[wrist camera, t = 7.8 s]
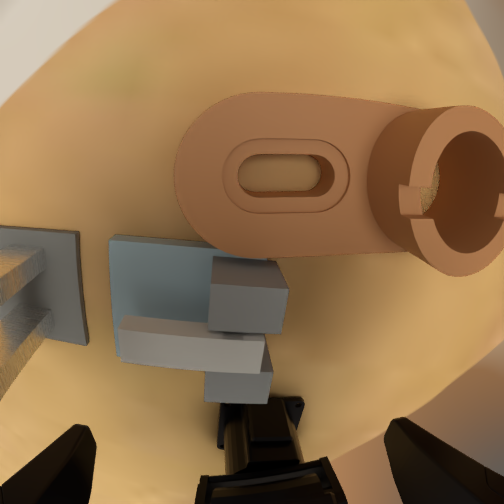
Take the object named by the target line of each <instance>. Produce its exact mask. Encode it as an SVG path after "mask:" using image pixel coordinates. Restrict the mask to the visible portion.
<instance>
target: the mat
mask: <svg viewBox="0 0 504 504" xmlns="http://www.w3.org/2000/svg"><path fill="white" fill-rule="evenodd" d="M10 244H14V245H23V246H32V247H41V248H44V253H45V264H46V269H45V270H44V271H42V272H41V273H40V274H38V275H37V276H36V277H35V278H34V279H32V280H31V281H30V282H29V283H27V284H26V285H25V286H24V287H23V288H21V289H20V290H19V291H18V292H17V293H15V294H14V295H13V296H12V297H11V298H10V299H8V300H7V301H6V302H5V303H4V304H3V305H2V306H0V321H1V320H2V319H3V318H4V317H5V316H6V315H7V314H8V313H9V312H10V311H11V310H12V309H13V308H14V307H15V306H17V305H18V304H19V303H20V304H25V305H30V306H35V307H41V308H46V309H51V310H52V316H53V321H54V328H53V330H52V331H51V332H50V333H49V335H48V336H47V337H46V338H49V339H54V340H58V341H63V342H68V343H74V344H79V345H84V346H87V344H88V343H89V336H88V330H87V323H86V315H85V307H84V298H83V289H82V277H81V264H80V246H79V232H78V231H65V230H53V229H40V228H27V227H13V226H0V250H1V249H3V248H5V247H6V246H8V245H10Z"/></svg>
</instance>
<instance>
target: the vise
mask: <svg viewBox="0 0 504 504" xmlns="http://www.w3.org/2000/svg"><path fill="white" fill-rule="evenodd" d="M109 269H110V289H111V303H112V315H113V326H114V336H115V344H116V353H117V356H119V357H121V362H125V363H132V364H140V365H147V366H156V367H165V368H174V369H185V370H197V371H205V389H204V402H219V403H245V404H267V401H268V396H269V391H270V387H271V382H272V377H273V368H272V364H271V360H270V355H269V351H268V347H267V343H266V338H265V334H281V332H282V326H283V321H284V316H285V310H286V305H287V299H288V294H289V288H288V285H287V283H286V281H285V279H284V277H283V275H282V273H281V271H280V269H279V267H278V265H277V262H276V261H270V260H267V258H244V257H239V256H235V255H232V254H229V253H226V252H224V251H222V250H219V249H217V248H216V247H214V246H212V245H211V244H209V243H208V242H200V241H189V240H177V239H165V238H153V237H140V236H128V235H116V234H115V235H114V236H113V237H112V238H110V239H109ZM263 333H264V334H263Z"/></svg>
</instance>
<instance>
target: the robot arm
mask: <svg viewBox="0 0 504 504" xmlns="http://www.w3.org/2000/svg"><path fill="white" fill-rule="evenodd" d="M297 403H299V404H297ZM304 405H305V403H304V400H303V399H302V398H268V401H267V404H245V403H229V404H226V403H220V412H219V424H218V436H217V448H219V449H222V450H225V471H226V475H218V476H209V475H202V476H201V477H200V483H199V484H198V487H197V492H196V498H195V504H348V502H347V499H346V496H345V494H344V491H343V489H342V487H341V485H340V483H339V481H338V479H337V477H336V474H335V472H334V470H333V468H332V466H331V464H330V462H329V460H328V457H327V456H326V457H322V458H319V460H315V461H310V462H306V463H305V462H304V459H303V455H302V451H301V447H300V444H299V440H298V436H297V432H296V430H297V427H298V424H299V421H300V418H301V415H302V412H303V409H304ZM384 443H385V447H386V451H387V455H388V458H389V462H390V466H391V470H392V474H393V478H394V481H395V484H396V486H397V489H398V492H399V494H400V496H401V499H402V502H403V504H504V476H502V475H500V474H498V473H496V472H494V471H492V470H491V469H489V468H487V467H484V466H483V465H482V464H480V463H478V462H477V461H475V460H474V459H472V458H470V457H468V456H467V455H465V454H463V453H462V452H460V451H458V450H457V449H455V448H453V447H452V446H450V445H448V444H447V443H445V442H444V441H442V440H441V439H439V438H437V437H436V436H434V435H432V434H430V433H429V432H428V431H426V430H425V429H423V428H421V427H420V426H418V425H417V424H415V423H413V422H412V421H410V420H409V419H407V418H406V417H400V418H395V419H393V420H392V421H391V422H390V425H389V427H388V429H387V431H386V433H385V435H384ZM96 449H97V446H96V442H95V439H94V437H93V435H92V433H91V430H90V428H89V427H88V426H86V425H81V424H75V425H73V426H72V427H71V428H69V429H68V430H67V431H66V432H65V433H64V434H62V435H61V436H60V437H59V438H58V439H56V440H55V441H54V442H53V443H52V444H50V445H49V446H48V447H47V448H46V449H44V450H43V451H42V452H41V453H40V454H38V455H37V456H36V457H35V458H34V459H32V460H31V461H30V462H29V463H28V464H26V465H25V466H24V467H23V468H21V469H20V470H19V471H18V472H17V473H15V474H14V475H13V476H12V477H11V478H9V479H8V480H7V481H6V482H4V483H3V484H2V487H1V486H0V504H88V503H89V499H90V494H91V489H92V481H93V472H94V464H95V457H96Z"/></svg>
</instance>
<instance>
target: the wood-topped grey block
mask: <svg viewBox="0 0 504 504" xmlns="http://www.w3.org/2000/svg"><path fill="white" fill-rule="evenodd" d="M45 269H46V264H45V253H44V248H41V247H32V246H23V245H14V244H10V245H8V246H6V247H5V248H3V249H1V250H0V306H2V305H3V304H4V303H5V302H6V301H7V300H8V299H10V298H11V297H12V296H13V295H14V294H15V293H17V292H18V291H19V290H20V289H21V288H23V287H24V286H25V285H26V284H27V283H29V282H30V281H31V280H32V279H34V278H35V277H36V276H37V275H38V274H40V273H41V272H42V271H44V270H45ZM53 328H54V321H53V316H52V310H51V309H46V308H41V307H35V306H30V305H25V304H20V303H19V304H18V305H17V306H15V307H14V308H13V309H12V310H11V311H10V312H9V313H8V314H7V315H6V316H5V317H4V318H3V319H2V320H1V321H0V401H1V399H2V398H3V396H4V395H5V393H6V392H7V390H8V389H9V387H10V386H11V384H12V383H13V382H14V380H15V379H16V377H17V376H18V375H19V373H20V372H21V370H22V369H23V368H24V366H25V365H26V364H27V362H28V361H29V359H30V358H31V357H32V355H33V354H34V353H35V351H36V350H37V349H38V348H39V346H40V345H41V344H42V342H43V341H44V340H45V338H46V337H47V336H48V335H49V333H50V332H51V331H52V330H53Z"/></svg>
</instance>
